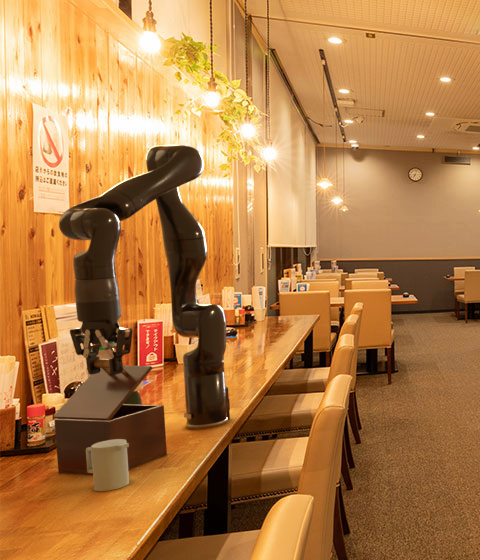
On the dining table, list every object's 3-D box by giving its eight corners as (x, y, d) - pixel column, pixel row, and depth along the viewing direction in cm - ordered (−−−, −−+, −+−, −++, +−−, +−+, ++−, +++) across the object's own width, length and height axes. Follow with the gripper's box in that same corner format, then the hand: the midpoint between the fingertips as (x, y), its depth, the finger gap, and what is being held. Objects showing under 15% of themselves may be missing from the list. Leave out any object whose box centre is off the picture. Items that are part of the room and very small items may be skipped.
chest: (117, 452, 154) (113, 403, 153) (166, 454, 152) (163, 405, 151) (58, 472, 140) (54, 419, 140) (112, 475, 138) (108, 421, 138)
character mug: (118, 410, 192) (115, 367, 191) (147, 407, 196) (145, 365, 195) (110, 419, 183) (107, 374, 182) (141, 415, 186) (138, 371, 185)
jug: (75, 490, 130) (72, 446, 130) (102, 479, 136) (99, 438, 135) (114, 492, 129) (111, 448, 128) (139, 481, 135) (137, 439, 134)
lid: (102, 367, 150) (86, 351, 147) (153, 368, 148) (138, 352, 145) (55, 418, 140) (37, 404, 136) (109, 420, 138) (92, 405, 134)
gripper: (141, 296, 145) (148, 370, 147) (86, 296, 147) (94, 369, 149) (109, 301, 138) (117, 378, 139) (52, 300, 140) (60, 377, 141)
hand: (105, 373), depth 144 cm, fingers closed on lid, 5 cm apart
